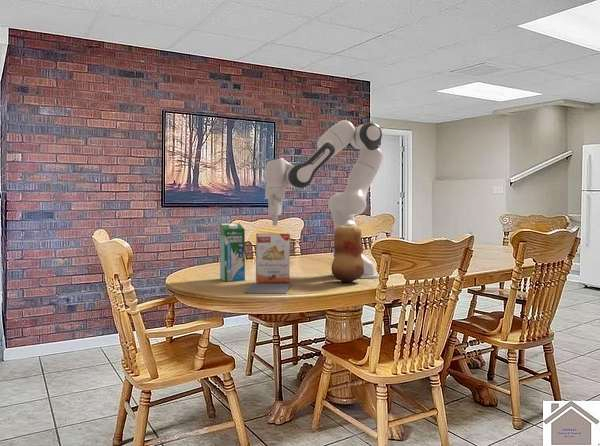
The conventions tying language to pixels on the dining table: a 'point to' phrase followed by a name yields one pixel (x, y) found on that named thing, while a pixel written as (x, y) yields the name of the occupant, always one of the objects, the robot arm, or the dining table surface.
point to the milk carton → (232, 252)
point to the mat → (268, 288)
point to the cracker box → (272, 258)
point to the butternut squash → (347, 253)
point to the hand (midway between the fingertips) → (274, 225)
